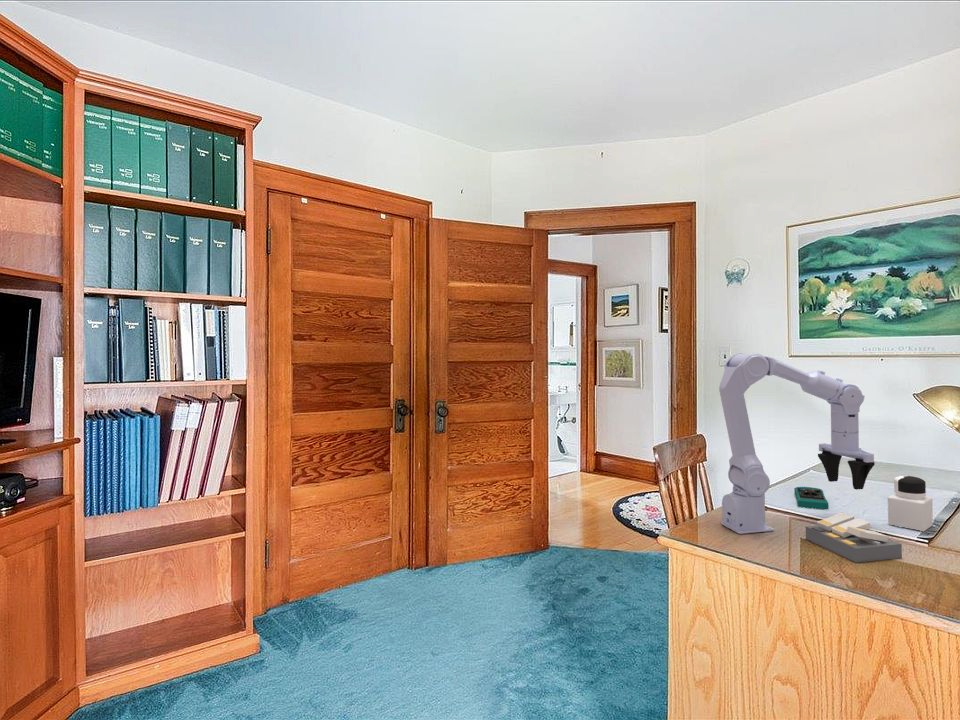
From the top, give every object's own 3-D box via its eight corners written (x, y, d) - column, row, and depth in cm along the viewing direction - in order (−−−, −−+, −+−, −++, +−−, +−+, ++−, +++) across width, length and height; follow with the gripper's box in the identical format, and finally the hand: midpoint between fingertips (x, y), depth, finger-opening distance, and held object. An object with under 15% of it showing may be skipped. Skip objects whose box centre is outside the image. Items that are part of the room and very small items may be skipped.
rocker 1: (828, 531, 120) (827, 526, 120) (818, 526, 123) (816, 521, 123) (855, 521, 121) (853, 516, 121) (843, 517, 124) (842, 512, 124)
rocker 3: (859, 537, 112) (860, 531, 112) (846, 531, 115) (847, 526, 115) (887, 542, 113) (888, 536, 113) (874, 536, 116) (875, 531, 116)
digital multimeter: (822, 497, 157) (822, 487, 157) (829, 511, 144) (828, 501, 144) (794, 494, 161) (794, 485, 160) (797, 508, 147) (797, 498, 147)
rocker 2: (844, 537, 116) (842, 532, 116) (832, 532, 119) (831, 527, 119) (871, 527, 117) (869, 522, 117) (858, 522, 120) (857, 517, 120)
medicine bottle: (933, 525, 130) (932, 477, 129) (923, 532, 126) (923, 482, 125) (897, 518, 135) (896, 472, 135) (887, 524, 131) (886, 477, 131)
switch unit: (856, 562, 110) (855, 545, 110) (805, 538, 124) (805, 523, 124) (901, 557, 112) (901, 540, 112) (847, 534, 126) (846, 519, 126)
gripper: (884, 435, 125) (885, 491, 126) (835, 426, 140) (835, 476, 140) (859, 436, 124) (859, 493, 125) (811, 427, 139) (812, 478, 139)
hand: (845, 484), depth 132 cm, fingers open, 7 cm apart
